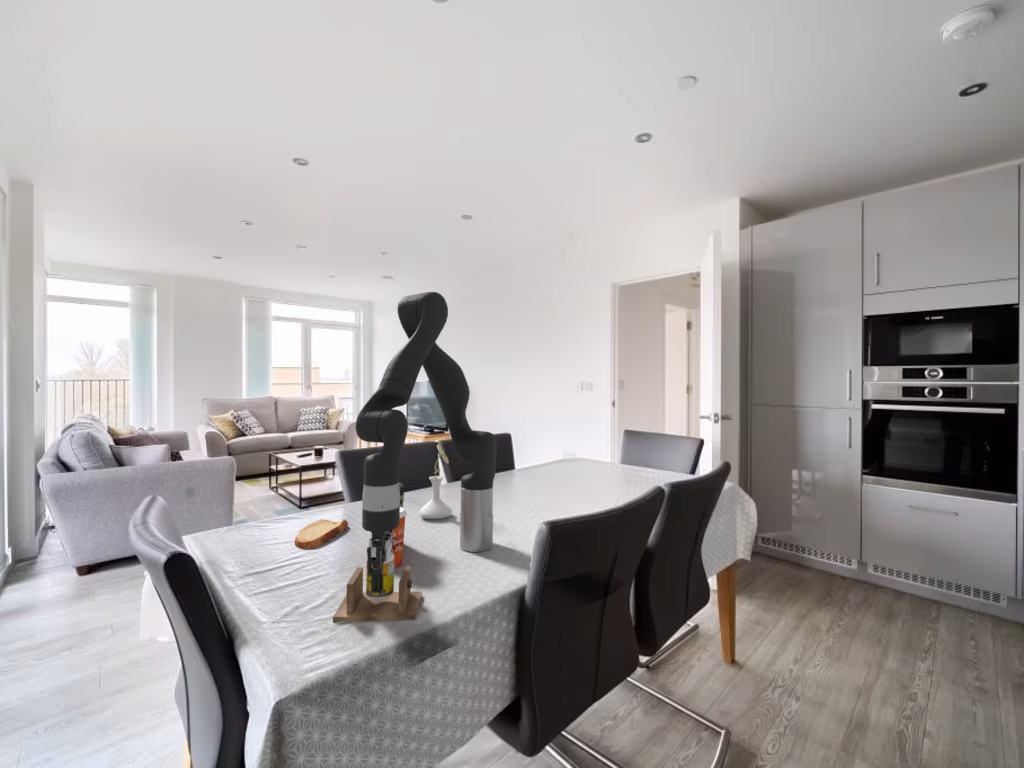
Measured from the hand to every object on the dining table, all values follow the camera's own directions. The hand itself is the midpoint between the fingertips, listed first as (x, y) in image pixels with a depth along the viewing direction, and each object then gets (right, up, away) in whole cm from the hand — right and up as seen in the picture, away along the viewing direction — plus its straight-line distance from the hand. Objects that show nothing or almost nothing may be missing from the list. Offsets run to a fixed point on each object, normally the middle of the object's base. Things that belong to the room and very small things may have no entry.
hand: (380, 584), depth 94 cm
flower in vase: (+1, -5, +63) cm, 63 cm away
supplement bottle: (0, -2, 0) cm, 2 cm away
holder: (0, -5, 0) cm, 5 cm away
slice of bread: (-30, -5, +43) cm, 52 cm away
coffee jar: (-8, -5, +33) cm, 35 cm away
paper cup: (-4, -5, +23) cm, 24 cm away
